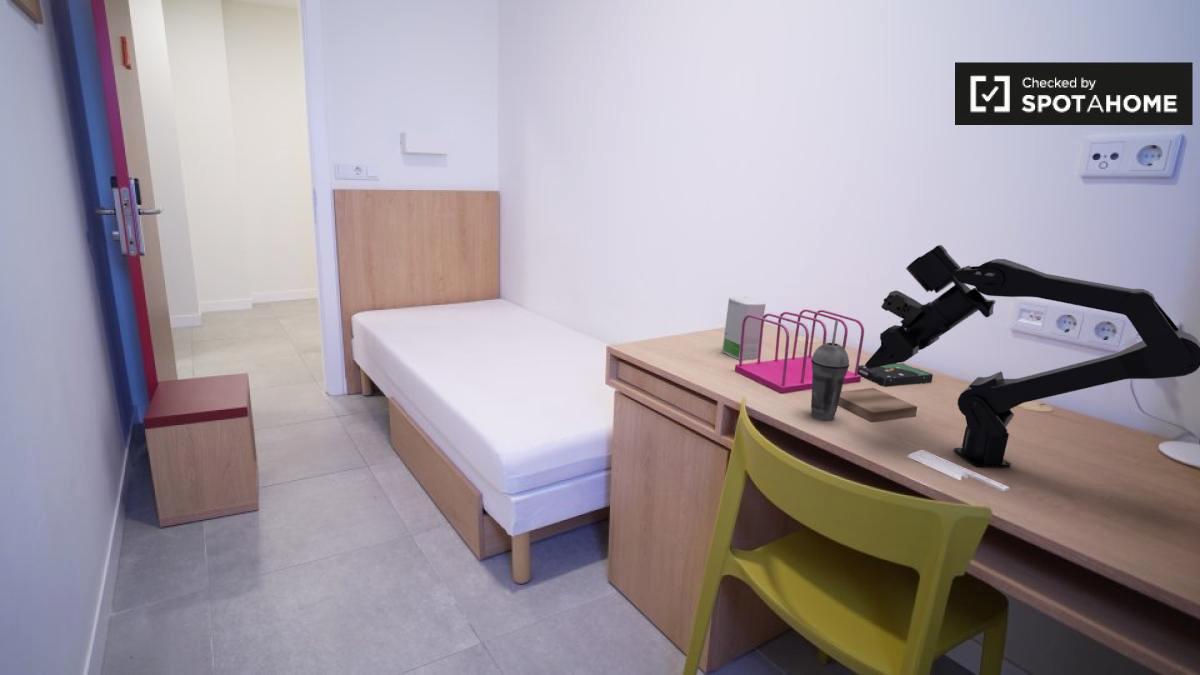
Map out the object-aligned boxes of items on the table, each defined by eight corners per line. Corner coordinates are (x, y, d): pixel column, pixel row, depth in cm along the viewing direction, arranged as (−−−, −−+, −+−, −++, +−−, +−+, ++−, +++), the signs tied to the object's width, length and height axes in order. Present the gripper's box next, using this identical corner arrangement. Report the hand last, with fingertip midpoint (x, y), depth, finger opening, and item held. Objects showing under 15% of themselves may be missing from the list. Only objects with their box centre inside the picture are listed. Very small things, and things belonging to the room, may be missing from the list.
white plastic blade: (990, 499, 95) (991, 492, 95) (904, 459, 108) (905, 454, 108) (1009, 491, 97) (1010, 485, 97) (922, 454, 110) (923, 448, 110)
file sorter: (733, 371, 153) (739, 310, 148) (809, 362, 163) (816, 305, 159) (781, 394, 137) (789, 327, 133) (861, 382, 148) (870, 319, 144)
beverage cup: (801, 418, 123) (813, 322, 118) (807, 407, 130) (819, 316, 125) (838, 426, 120) (853, 328, 115) (843, 414, 126) (857, 321, 121)
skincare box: (721, 352, 168) (726, 297, 164) (740, 350, 171) (746, 296, 167) (740, 361, 161) (746, 303, 157) (760, 358, 164) (766, 302, 160)
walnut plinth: (915, 415, 127) (917, 406, 127) (871, 421, 123) (873, 412, 123) (872, 396, 138) (873, 387, 138) (830, 401, 134) (831, 392, 133)
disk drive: (884, 389, 145) (932, 384, 150) (886, 378, 144) (934, 373, 149) (853, 376, 154) (899, 371, 159) (855, 365, 154) (901, 361, 158)
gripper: (928, 273, 117) (864, 322, 127) (898, 283, 104) (829, 336, 113) (969, 318, 114) (900, 365, 123) (944, 334, 100) (869, 385, 110)
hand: (875, 361), depth 117 cm, fingers open, 9 cm apart
